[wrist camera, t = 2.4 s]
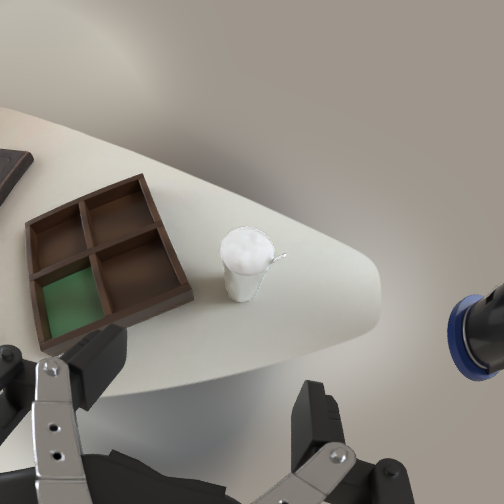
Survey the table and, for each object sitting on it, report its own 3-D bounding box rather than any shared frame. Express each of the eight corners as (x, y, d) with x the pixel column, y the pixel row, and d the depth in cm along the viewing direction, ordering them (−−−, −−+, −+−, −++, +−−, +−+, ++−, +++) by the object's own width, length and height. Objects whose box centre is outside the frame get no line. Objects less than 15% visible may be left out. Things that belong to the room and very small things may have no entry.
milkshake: (257, 320, 31) (272, 278, 22) (212, 295, 32) (209, 245, 23) (276, 285, 33) (296, 233, 24) (233, 262, 34) (238, 205, 25)
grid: (194, 299, 31) (192, 289, 29) (53, 357, 26) (40, 351, 23) (146, 187, 38) (142, 172, 36) (33, 234, 33) (24, 222, 31)
